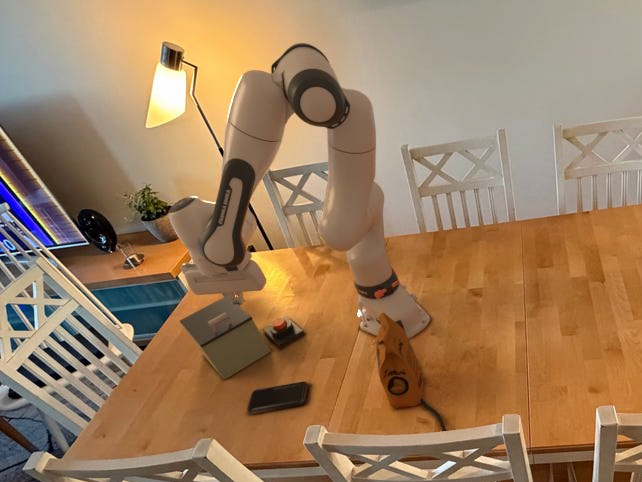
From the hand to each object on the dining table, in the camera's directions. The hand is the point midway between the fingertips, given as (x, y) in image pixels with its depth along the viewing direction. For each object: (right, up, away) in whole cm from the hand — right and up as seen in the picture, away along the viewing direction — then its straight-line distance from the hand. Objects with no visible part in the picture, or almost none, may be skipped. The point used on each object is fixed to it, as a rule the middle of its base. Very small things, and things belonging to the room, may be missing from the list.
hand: (239, 303), depth 138 cm
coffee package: (+47, -24, -8) cm, 53 cm away
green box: (-7, -14, +12) cm, 19 cm away
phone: (+13, -26, -4) cm, 29 cm away
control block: (+6, -8, +16) cm, 19 cm away
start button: (+6, -6, +14) cm, 16 cm away
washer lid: (-8, -5, +3) cm, 10 cm away
